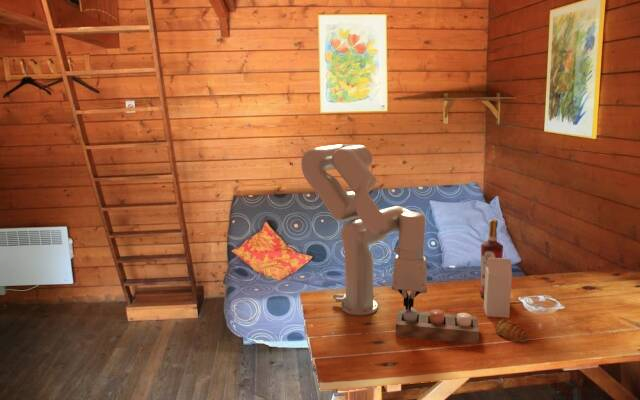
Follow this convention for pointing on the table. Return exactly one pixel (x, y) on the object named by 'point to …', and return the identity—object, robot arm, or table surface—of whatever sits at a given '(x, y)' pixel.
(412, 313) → the grey rounded block
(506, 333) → the pastry
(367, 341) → the table surface
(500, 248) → the liquor
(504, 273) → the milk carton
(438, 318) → the brick key
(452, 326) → the console
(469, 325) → the white button
